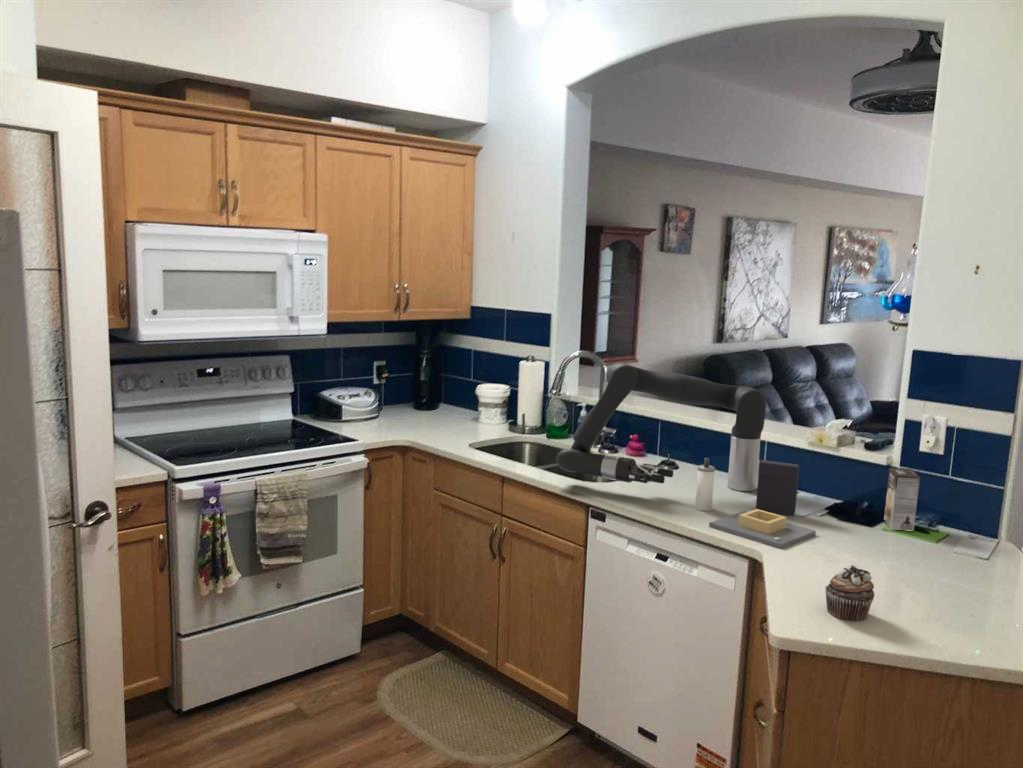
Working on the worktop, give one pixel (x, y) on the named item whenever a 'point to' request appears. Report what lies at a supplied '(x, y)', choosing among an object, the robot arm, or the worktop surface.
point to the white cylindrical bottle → (705, 486)
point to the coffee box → (901, 499)
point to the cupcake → (850, 594)
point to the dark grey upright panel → (777, 487)
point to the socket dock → (763, 528)
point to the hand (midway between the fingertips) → (668, 476)
